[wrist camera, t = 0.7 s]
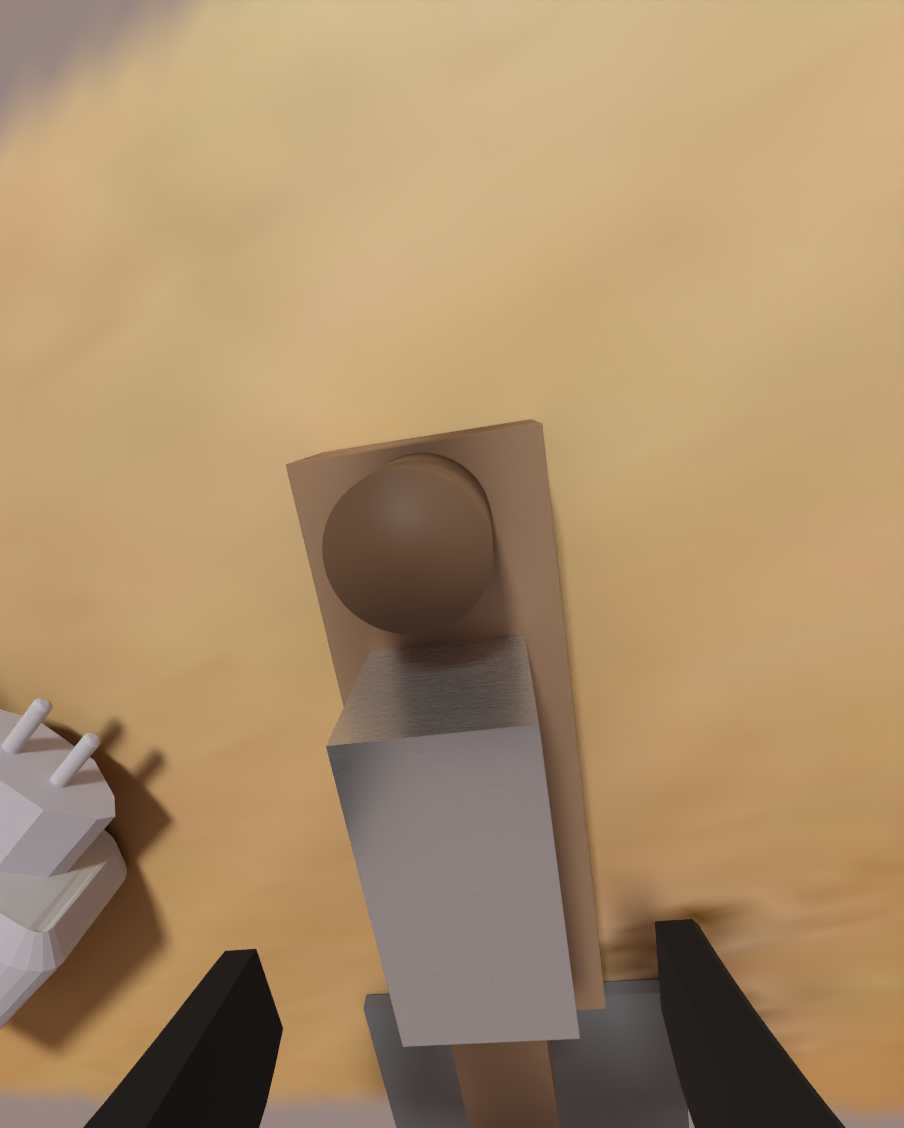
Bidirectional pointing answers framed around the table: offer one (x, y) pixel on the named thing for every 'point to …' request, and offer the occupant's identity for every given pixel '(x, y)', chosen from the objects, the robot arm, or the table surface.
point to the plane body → (453, 614)
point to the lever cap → (456, 842)
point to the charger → (49, 850)
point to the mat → (581, 1067)
